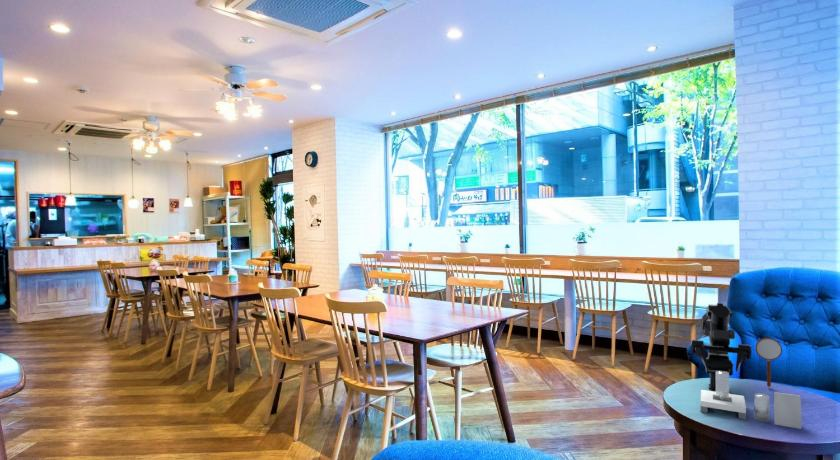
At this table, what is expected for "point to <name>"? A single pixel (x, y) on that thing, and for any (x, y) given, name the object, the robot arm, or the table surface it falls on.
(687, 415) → the table surface
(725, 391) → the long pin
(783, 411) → the ivan chai tea box
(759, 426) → the table surface
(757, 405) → the short pin
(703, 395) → the hole board
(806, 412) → the table surface
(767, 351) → the magnifying glass
